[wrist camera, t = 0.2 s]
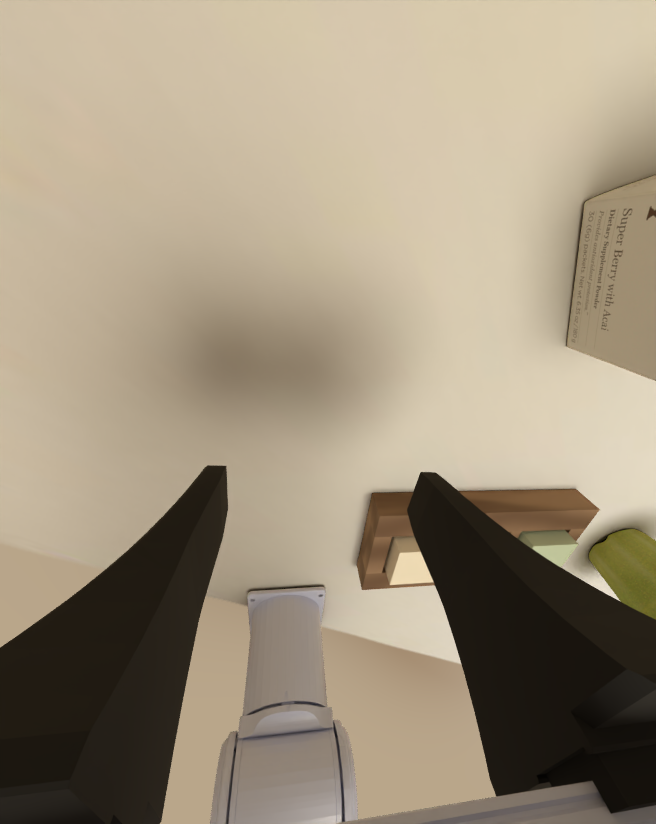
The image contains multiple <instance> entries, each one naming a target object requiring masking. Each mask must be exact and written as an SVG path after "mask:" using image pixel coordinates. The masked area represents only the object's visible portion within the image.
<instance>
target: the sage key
mask: <svg viewBox="0 0 656 824" xmlns="http://www.w3.org/2000/svg"><path fill="white" fill-rule="evenodd" d="M517 539H519V540H520V541H522V542H523V543H524V544H526V545H527V546H529V547H530V548H532V549H533V550H535V551H536V552H538V553H539V554H541V555H542V556H544V557H545V558H547V559H548V560H550V561H551V562H553V563H554V564H556V565H558V566H559V567H562V565H563V564H564V563H565V561H566V560H567V559H568V557H569V556H570V555H571V553H572V552H573V551H574V549H575V548H576V547H577V545H578V543H577V542H576V541H575V540H574V539H573V538H572V537H571V536H570V535H569V534H568V533H567V532H566V531H565V530H544V531H522V532H521V533H520V535H519V537H518V538H517Z"/></svg>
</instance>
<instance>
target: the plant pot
mask: <svg viewBox="0 0 656 824" xmlns="http://www.w3.org/2000/svg"><path fill="white" fill-rule="evenodd" d="M589 559H590V561H591V562H592V564H593V565H594V566H595V568H596V569H597V570H598V572H599V573H600V574H601V576H602V577H603V578H604V580H605V581H606V582H607V583H608V585H609V586H610V587H611V589H612V590H613V592H614V593H615V594H616V596H617V597H618V598H619V600H620V601H621V602H622V603H624V604H626V605H628V606H630V607H631V608H633V609H635V610H637V611H639V612H641V613H643V614H645V615H647V616H649V617H652V618H654V619H656V541H655V540H654V539H652V538H651V537H649V536H648V535H646V534H645V533H643V532H641V531H639V530H636V529H627V530H622V531H618V532H615V533H612V534H611V535H609V536H608V537H607V539H606V540H605V541H604V542H602V543H597V544H596V545H594V546H593V547H592V549H591V551H590V553H589Z"/></svg>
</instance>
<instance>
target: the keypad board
mask: <svg viewBox="0 0 656 824" xmlns="http://www.w3.org/2000/svg"><path fill="white" fill-rule="evenodd" d="M459 492H460V493H461V494H462V495H463V496H465V497H466V498H467V499H468V500H469V501H471V502H472V503H473V504H474V505H475V506H477V507H478V508H479V509H480V510H481V511H483V512H484V513H485V514H486V515H488V516H489V517H490V518H491V519H493V520H494V521H495V522H496V523H498V524H499V525H500V526H502V527H503V528H504V529H505V530H507V531H508V532H509V533H511V534H512V535H513V536H515V537H516V538H518V537H519V535H520V533H521V532H522V531H544V530H565V531H566V532H567V533H568V534H569V535H570V536H571V537H572V538H573V539H574V540H575V541H577V539H578V538H579V537H580V535H581V534H582V533H583V531H584V530H585V529H586V527H587V526H588V525H589V523H590V522H591V520H592V519H593V518H594V516H595V515H596V514H597V512H598V511H599V510H600V509H599V508H597V507H596V506H595V505H594V504H593V503H592V502H590V501H589V500H588V499H587V498H586V497H585V496H583V495H582V494H581V493H580V492H579V491H578V490H576V489H556V490H504V491H459ZM412 495H413V492H402V493H372V497H371V501H370V506H369V511H368V515H367V520H366V525H365V529H364V534H363V539H362V544H361V548H360V553H359V558H358V562H357V568H358V573H359V578H360V583H361V587H362V590H369V589H384V588H399V587H414V586H429V585H435V584H434V582H430V583H415V584H399V585H390V584H389V581H388V577H387V574H386V571H385V567H384V564H385V560H386V557H387V553H388V550H389V546H390V543H391V539H392V537H397V536H414V534H413V531H412V527H411V524H410V520H409V516H408V513H407V508H408V506H409V503H410V500H411V497H412Z"/></svg>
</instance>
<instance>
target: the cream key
mask: <svg viewBox="0 0 656 824" xmlns="http://www.w3.org/2000/svg"><path fill="white" fill-rule="evenodd" d="M384 567H385V571H386V574H387V577H388V581H389V584H390V585H399V584H415V583H430V582H433V580H432V577H431V575H430V573H429V570H428V568H427V566H426V563H425V561H424V559H423V556H422V554H421V551H420V549H419V547H418V544H417V542H416V539H415V537H414V536H397V537H392V539H391V543H390V546H389V550H388V553H387V557H386V560H385V564H384Z"/></svg>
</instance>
